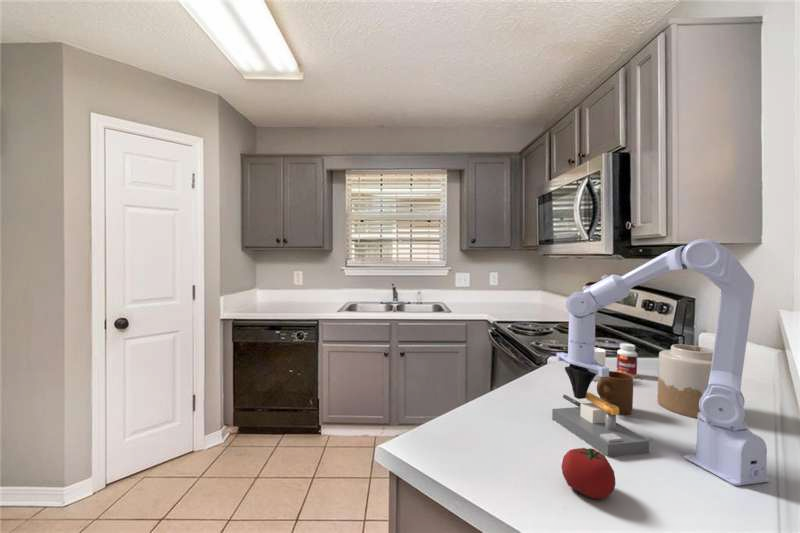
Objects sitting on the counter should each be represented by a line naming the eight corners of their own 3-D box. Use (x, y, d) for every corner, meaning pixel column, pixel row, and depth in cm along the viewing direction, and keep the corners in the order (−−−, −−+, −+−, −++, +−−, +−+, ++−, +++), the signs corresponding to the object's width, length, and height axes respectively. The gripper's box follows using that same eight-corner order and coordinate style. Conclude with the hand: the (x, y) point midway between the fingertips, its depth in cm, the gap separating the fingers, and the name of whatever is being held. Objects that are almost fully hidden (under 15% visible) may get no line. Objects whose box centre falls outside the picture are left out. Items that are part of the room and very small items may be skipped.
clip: (621, 414, 78) (621, 408, 78) (609, 414, 78) (609, 409, 78) (590, 396, 89) (590, 391, 89) (580, 396, 88) (580, 391, 88)
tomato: (597, 477, 65) (598, 437, 65) (626, 507, 57) (627, 462, 57) (553, 477, 65) (554, 437, 65) (577, 507, 57) (578, 461, 57)
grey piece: (649, 452, 74) (650, 423, 74) (607, 456, 72) (608, 427, 72) (586, 416, 92) (587, 392, 92) (552, 418, 90) (552, 394, 90)
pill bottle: (616, 376, 127) (617, 345, 127) (615, 371, 133) (616, 342, 133) (637, 379, 125) (638, 347, 124) (635, 374, 130) (636, 344, 130)
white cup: (574, 375, 127) (575, 347, 126) (589, 373, 130) (590, 345, 130) (594, 382, 119) (595, 352, 119) (610, 380, 123) (611, 350, 123)
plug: (607, 422, 83) (608, 409, 83) (592, 423, 82) (593, 410, 82) (571, 401, 95) (571, 390, 95) (557, 402, 94) (558, 391, 94)
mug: (612, 421, 90) (613, 383, 90) (583, 410, 96) (584, 374, 96) (638, 412, 96) (639, 376, 96) (609, 402, 102) (610, 369, 102)
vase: (684, 419, 91) (686, 354, 91) (645, 397, 107) (646, 341, 107) (745, 422, 91) (748, 356, 91) (697, 399, 106) (699, 343, 106)
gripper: (620, 347, 81) (618, 407, 81) (572, 335, 95) (571, 386, 95) (595, 349, 79) (593, 410, 79) (550, 336, 93) (548, 388, 93)
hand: (579, 397), depth 87 cm, fingers closed
